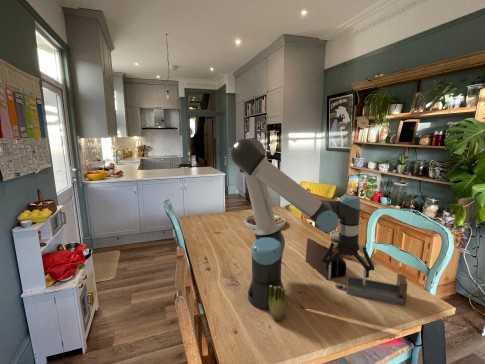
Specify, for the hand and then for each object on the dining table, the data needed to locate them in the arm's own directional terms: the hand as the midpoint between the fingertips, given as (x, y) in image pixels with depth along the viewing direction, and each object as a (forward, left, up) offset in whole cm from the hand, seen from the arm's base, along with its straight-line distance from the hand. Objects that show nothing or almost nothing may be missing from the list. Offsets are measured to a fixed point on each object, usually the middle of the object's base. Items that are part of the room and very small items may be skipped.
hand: (346, 280), depth 109 cm
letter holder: (+14, +10, -4) cm, 17 cm away
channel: (0, -11, -3) cm, 11 cm away
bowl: (+64, +58, -4) cm, 87 cm away
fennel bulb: (-29, +22, -4) cm, 36 cm away
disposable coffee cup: (+33, +5, -4) cm, 34 cm away
